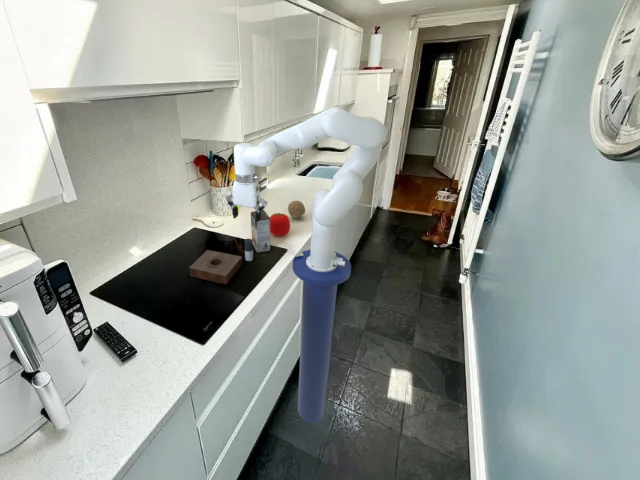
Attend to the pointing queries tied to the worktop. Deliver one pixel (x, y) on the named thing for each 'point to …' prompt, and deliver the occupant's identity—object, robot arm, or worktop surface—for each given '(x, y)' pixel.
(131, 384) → the worktop surface
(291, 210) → the natural sponge
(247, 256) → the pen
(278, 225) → the tomato
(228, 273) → the holder
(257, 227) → the coffee box
